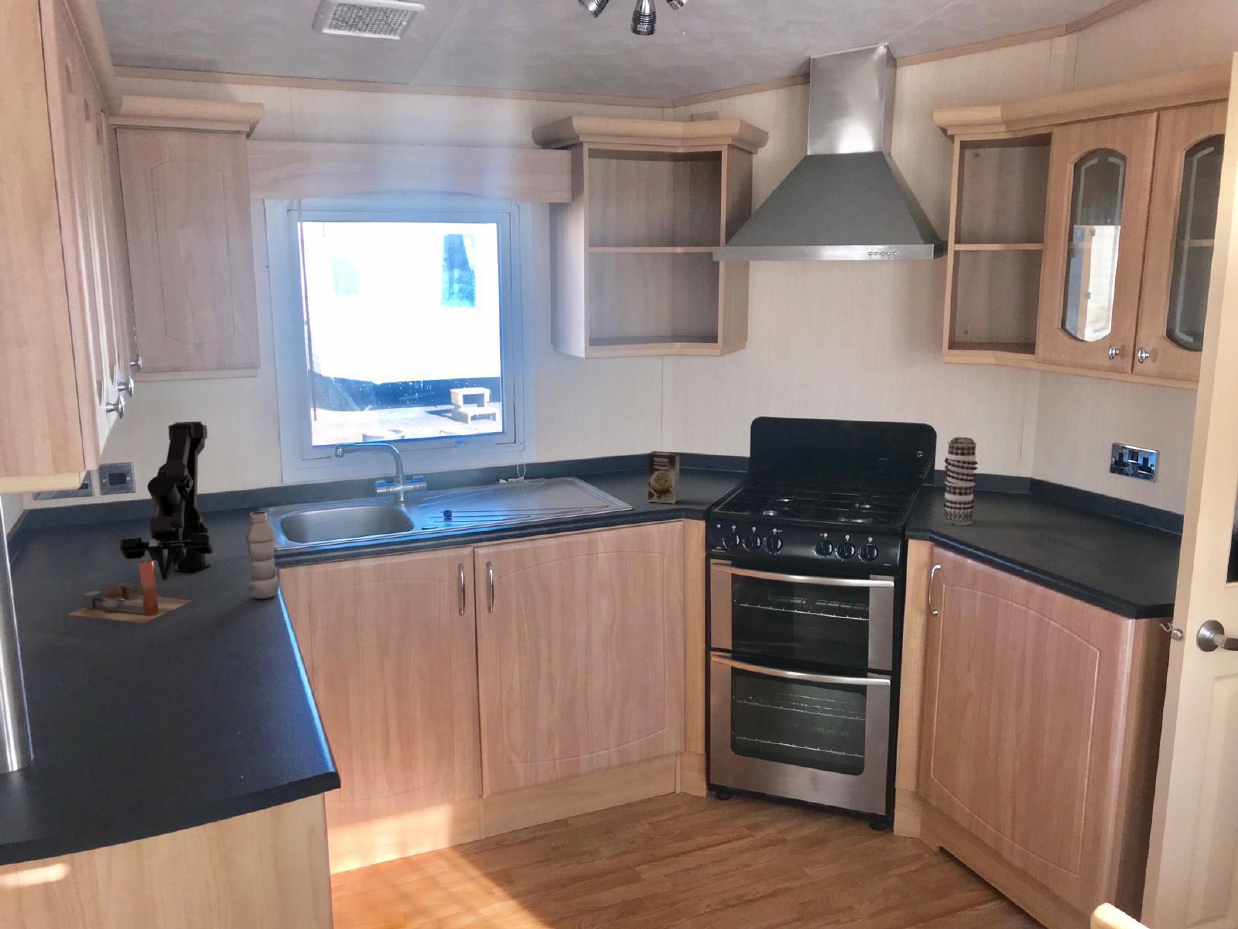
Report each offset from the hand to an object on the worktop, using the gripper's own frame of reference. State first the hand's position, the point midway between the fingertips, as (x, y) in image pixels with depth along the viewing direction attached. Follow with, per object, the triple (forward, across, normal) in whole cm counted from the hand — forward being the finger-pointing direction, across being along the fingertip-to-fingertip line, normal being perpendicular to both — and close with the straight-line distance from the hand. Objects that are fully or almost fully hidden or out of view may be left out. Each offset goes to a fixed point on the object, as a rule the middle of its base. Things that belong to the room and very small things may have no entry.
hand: (164, 579), depth 220 cm
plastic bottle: (+4, +21, +6) cm, 22 cm away
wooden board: (+6, -7, +3) cm, 10 cm away
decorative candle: (-11, +212, +21) cm, 213 cm away
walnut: (+2, -12, +6) cm, 13 cm away
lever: (+7, -8, 0) cm, 10 cm away
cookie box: (-44, +135, +56) cm, 153 cm away
